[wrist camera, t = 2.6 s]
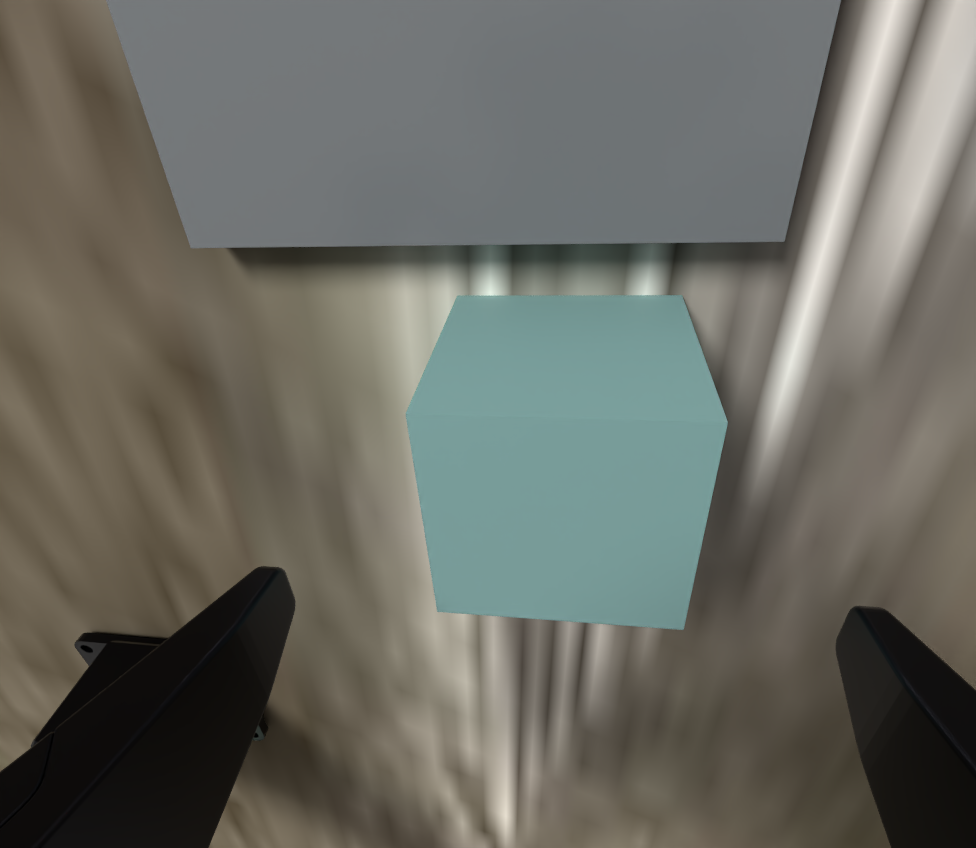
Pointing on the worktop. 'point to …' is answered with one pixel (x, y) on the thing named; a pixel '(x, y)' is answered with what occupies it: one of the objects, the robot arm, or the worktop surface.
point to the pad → (478, 118)
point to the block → (566, 458)
